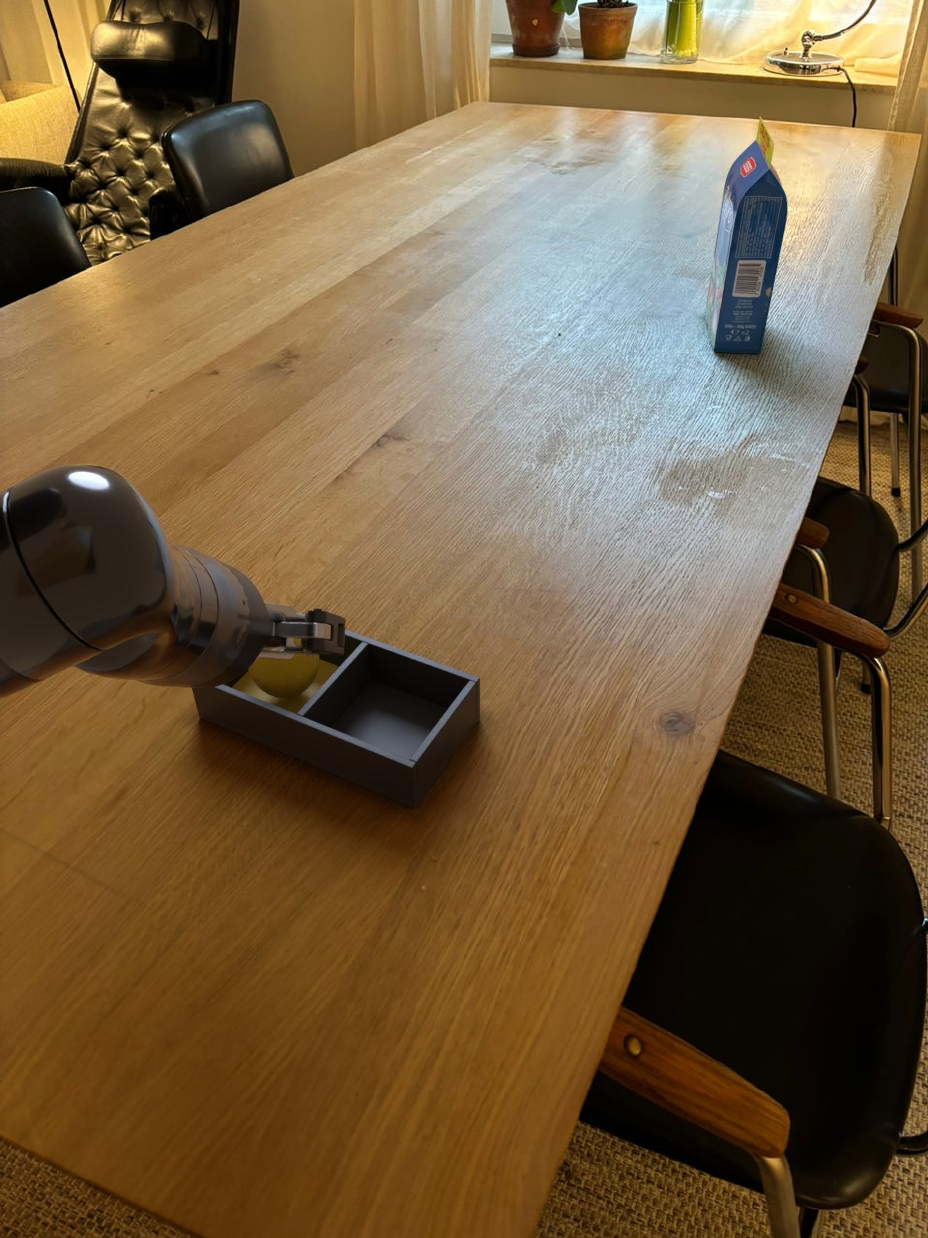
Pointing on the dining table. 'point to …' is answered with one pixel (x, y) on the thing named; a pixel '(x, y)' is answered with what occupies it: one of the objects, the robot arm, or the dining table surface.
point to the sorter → (359, 717)
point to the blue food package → (746, 250)
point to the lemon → (285, 674)
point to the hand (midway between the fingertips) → (257, 637)
